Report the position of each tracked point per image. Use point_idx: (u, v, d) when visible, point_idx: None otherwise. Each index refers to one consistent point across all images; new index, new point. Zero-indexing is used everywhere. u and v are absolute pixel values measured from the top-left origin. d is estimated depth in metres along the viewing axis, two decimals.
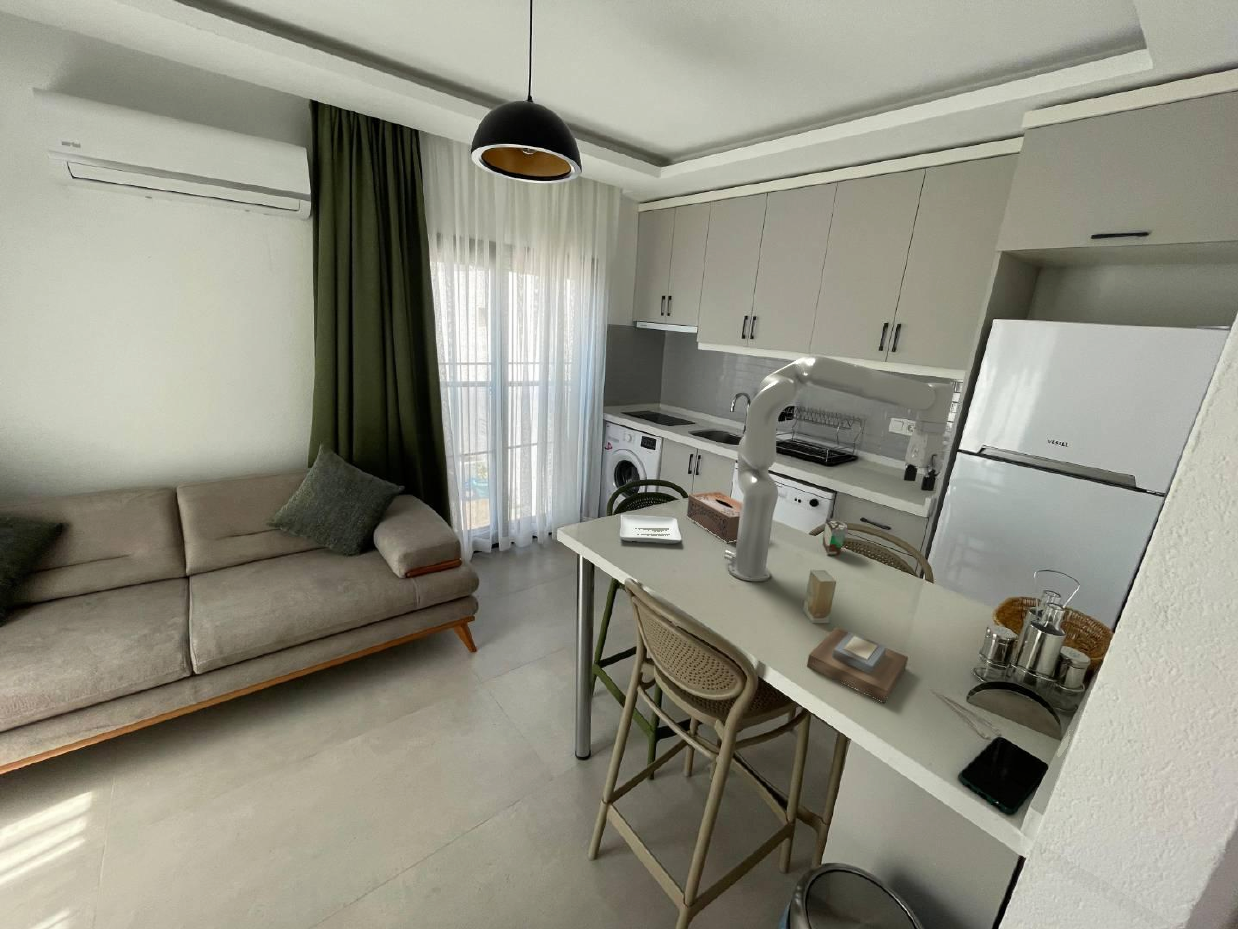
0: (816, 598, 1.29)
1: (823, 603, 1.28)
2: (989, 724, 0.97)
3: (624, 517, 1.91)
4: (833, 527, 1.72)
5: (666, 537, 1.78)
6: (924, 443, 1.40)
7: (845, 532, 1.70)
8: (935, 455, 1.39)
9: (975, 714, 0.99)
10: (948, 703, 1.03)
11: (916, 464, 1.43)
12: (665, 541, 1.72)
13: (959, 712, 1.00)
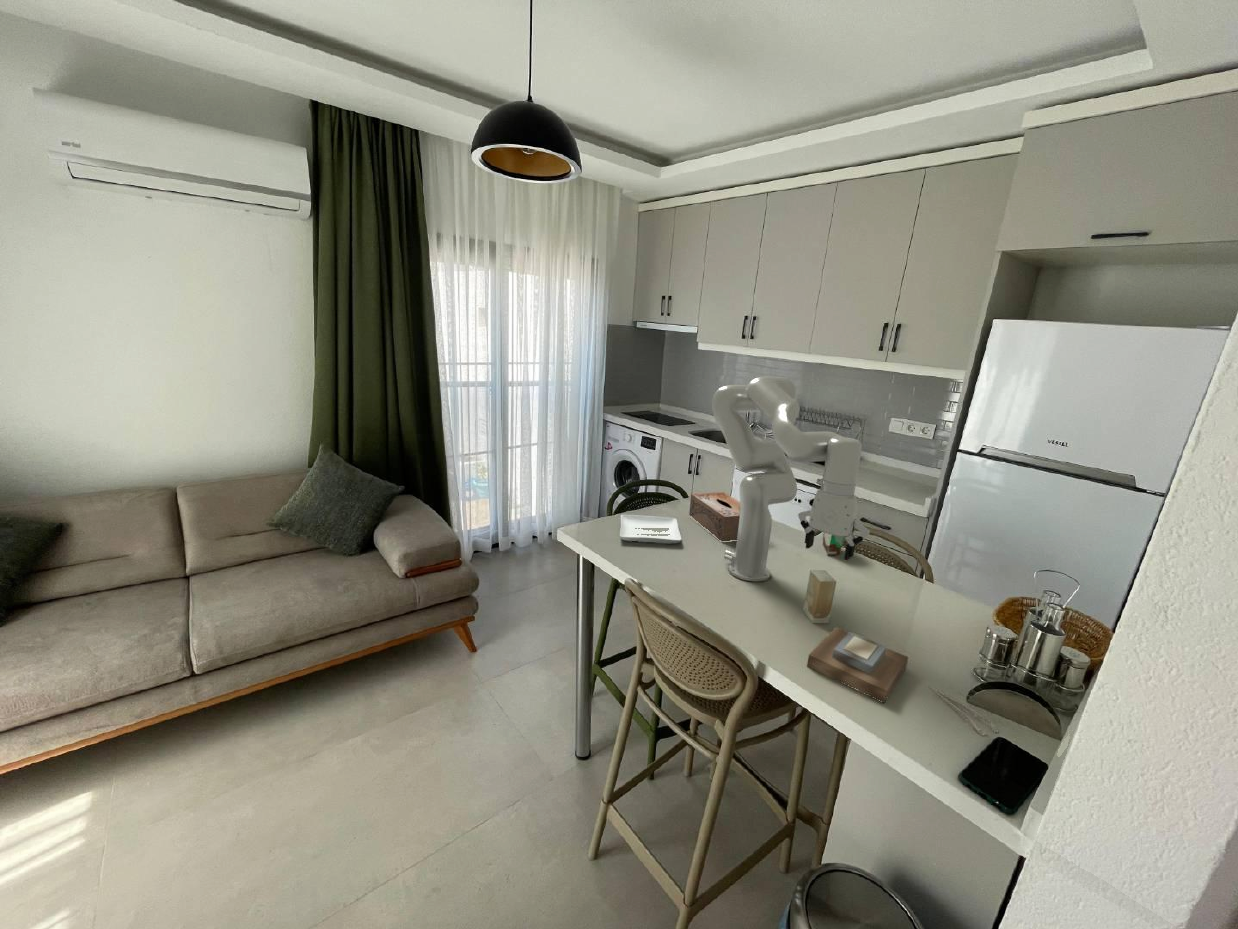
0: (816, 598, 1.29)
1: (823, 603, 1.28)
2: (987, 722, 0.98)
3: (624, 517, 1.91)
4: None
5: (666, 537, 1.78)
6: (846, 509, 1.21)
7: None
8: (855, 520, 1.22)
9: (973, 712, 1.00)
10: (946, 701, 1.03)
11: (836, 533, 1.23)
12: (665, 541, 1.72)
13: (957, 710, 1.01)
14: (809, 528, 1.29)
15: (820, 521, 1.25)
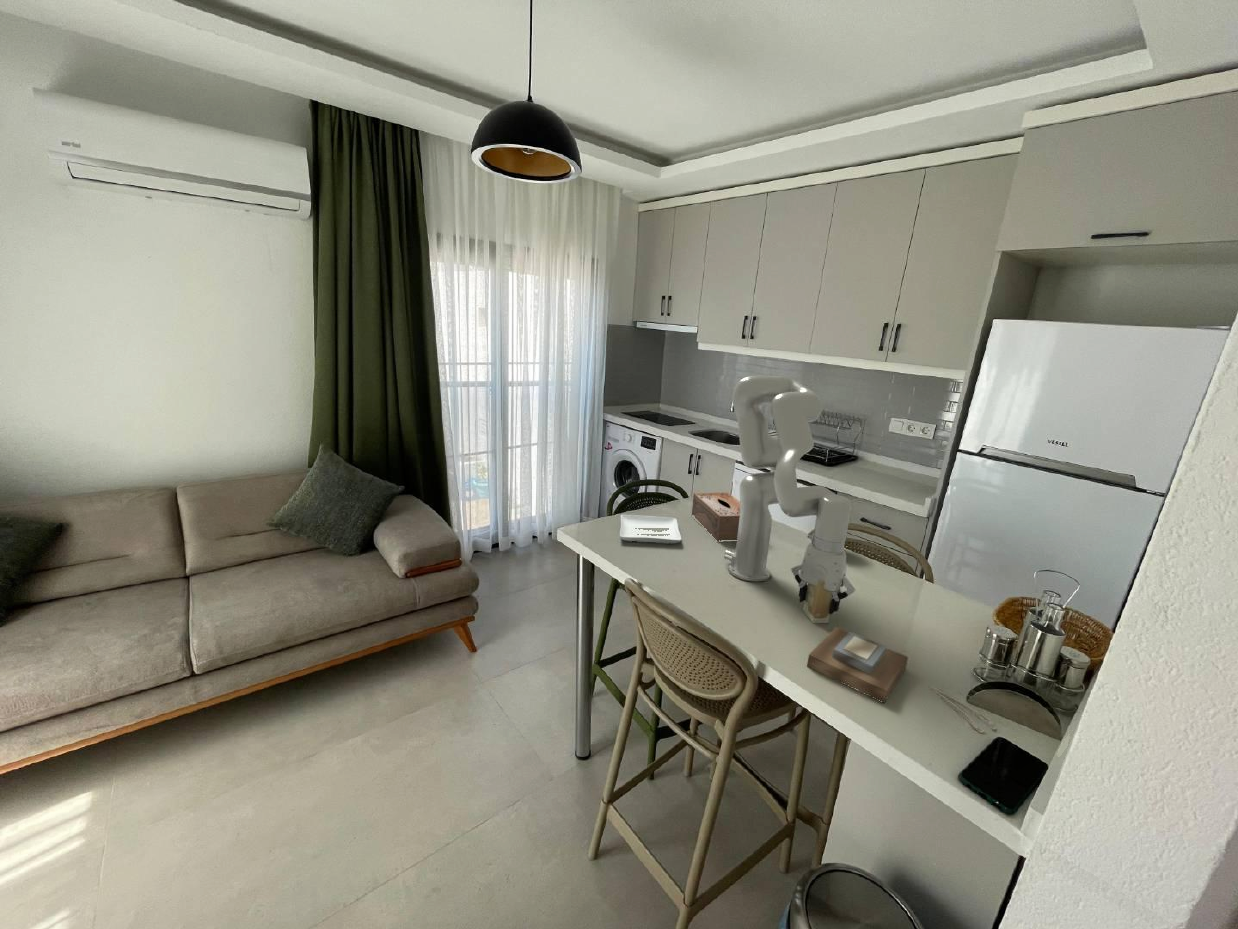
0: (816, 598, 1.29)
1: (823, 603, 1.28)
2: (985, 719, 0.98)
3: (624, 517, 1.91)
4: None
5: (666, 537, 1.78)
6: (835, 566, 1.24)
7: None
8: (843, 576, 1.26)
9: (971, 709, 1.01)
10: (945, 699, 1.04)
11: (826, 587, 1.27)
12: (665, 541, 1.72)
13: (955, 707, 1.01)
14: (802, 582, 1.32)
15: (810, 575, 1.29)
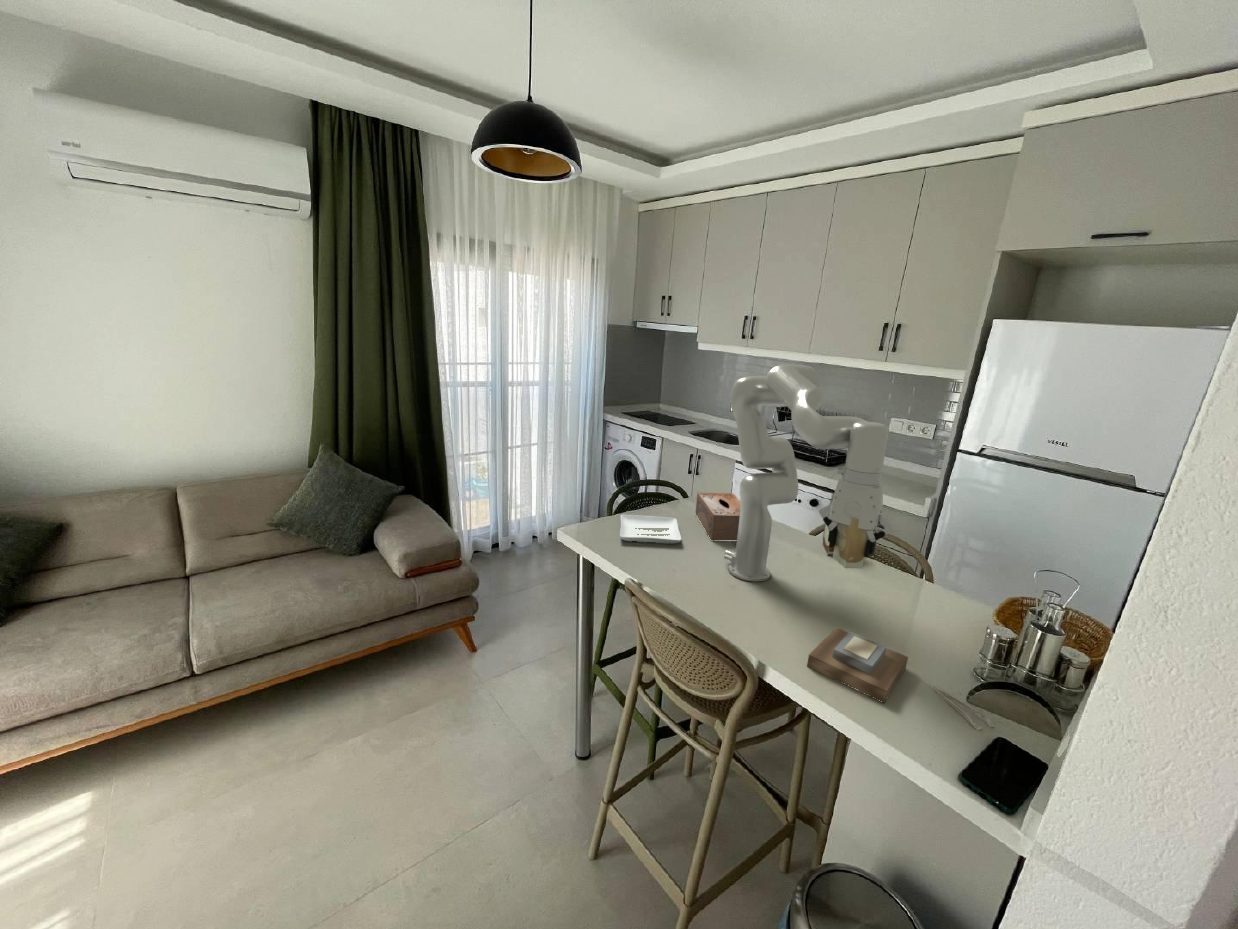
0: (849, 539, 1.14)
1: (857, 545, 1.14)
2: (982, 716, 0.99)
3: (624, 517, 1.91)
4: None
5: (666, 537, 1.78)
6: (871, 500, 1.10)
7: None
8: (880, 513, 1.12)
9: (969, 707, 1.01)
10: (943, 696, 1.05)
11: (860, 526, 1.13)
12: (665, 541, 1.72)
13: (953, 705, 1.02)
14: (832, 524, 1.18)
15: (842, 513, 1.15)
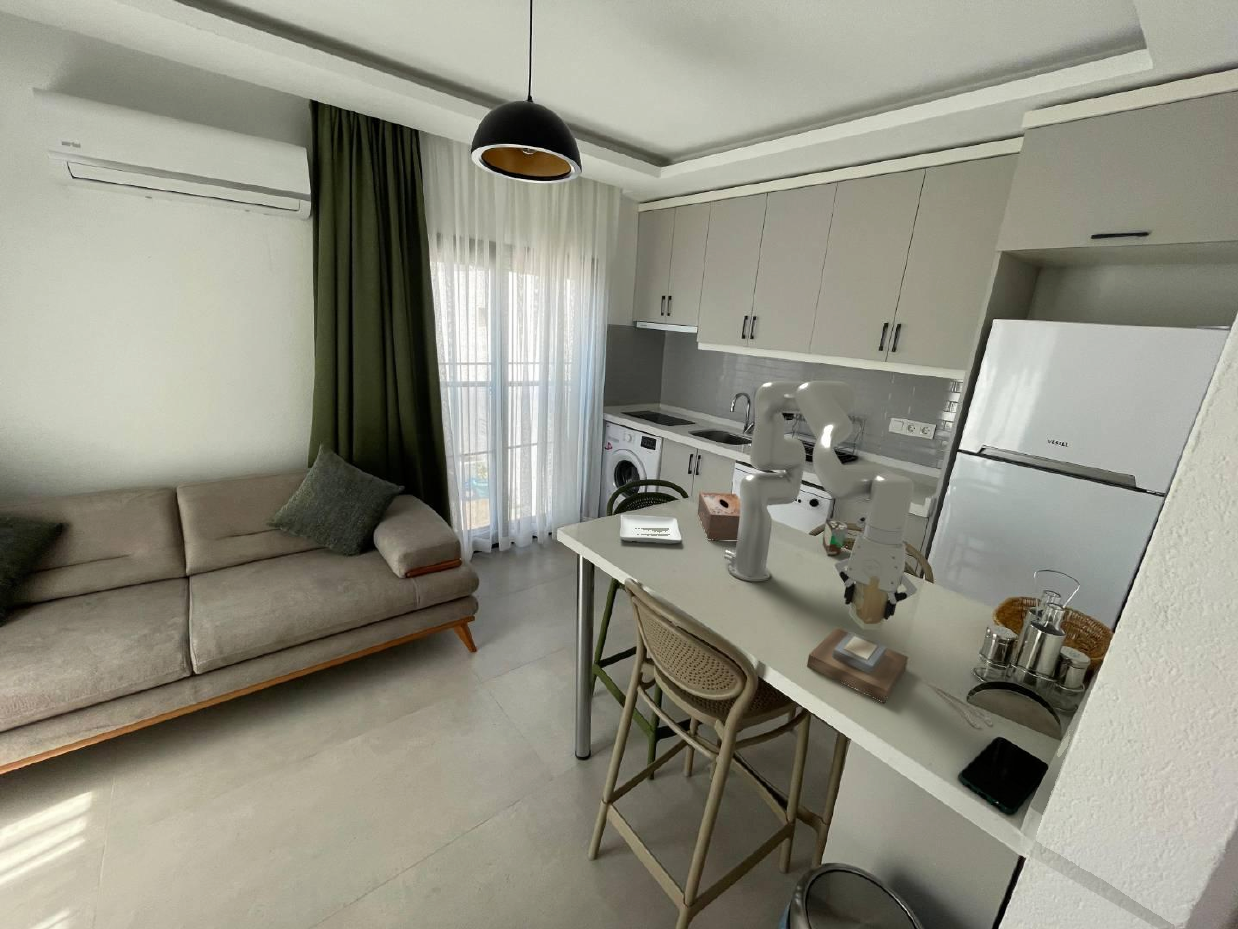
0: (867, 600, 1.06)
1: (876, 606, 1.06)
2: (981, 715, 1.00)
3: (624, 517, 1.91)
4: (833, 527, 1.72)
5: (666, 537, 1.78)
6: (893, 561, 1.02)
7: (845, 532, 1.70)
8: (902, 573, 1.04)
9: (968, 705, 1.02)
10: (942, 695, 1.05)
11: (880, 587, 1.04)
12: (665, 541, 1.72)
13: (952, 703, 1.02)
14: (849, 581, 1.10)
15: (861, 571, 1.06)
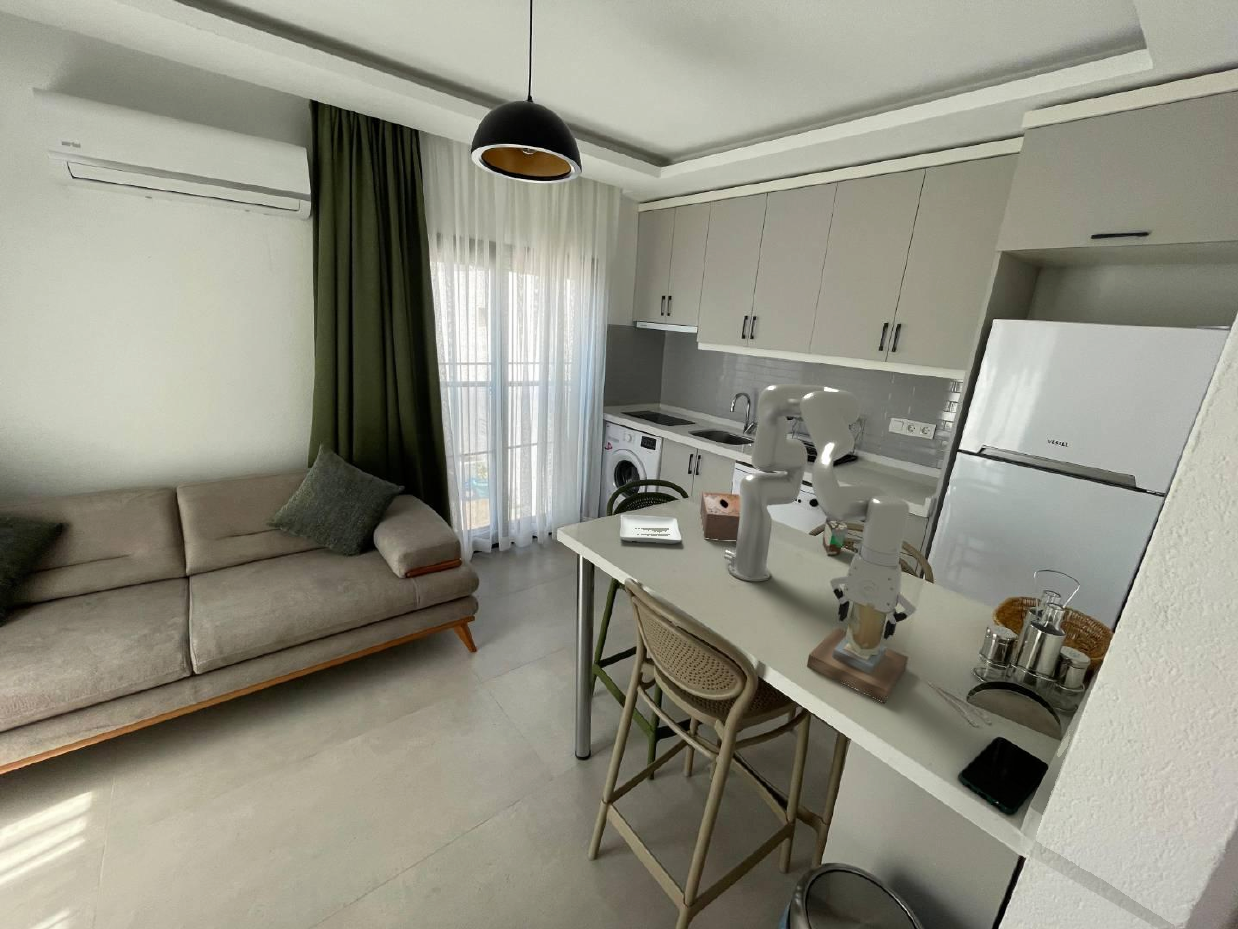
0: (863, 625, 1.07)
1: (872, 631, 1.07)
2: (980, 713, 1.00)
3: (624, 517, 1.91)
4: (833, 527, 1.72)
5: (666, 537, 1.78)
6: (889, 582, 1.03)
7: (845, 532, 1.70)
8: (898, 593, 1.05)
9: (966, 704, 1.02)
10: (941, 693, 1.06)
11: (876, 608, 1.05)
12: (665, 541, 1.72)
13: (951, 701, 1.03)
14: (844, 598, 1.11)
15: (857, 592, 1.08)
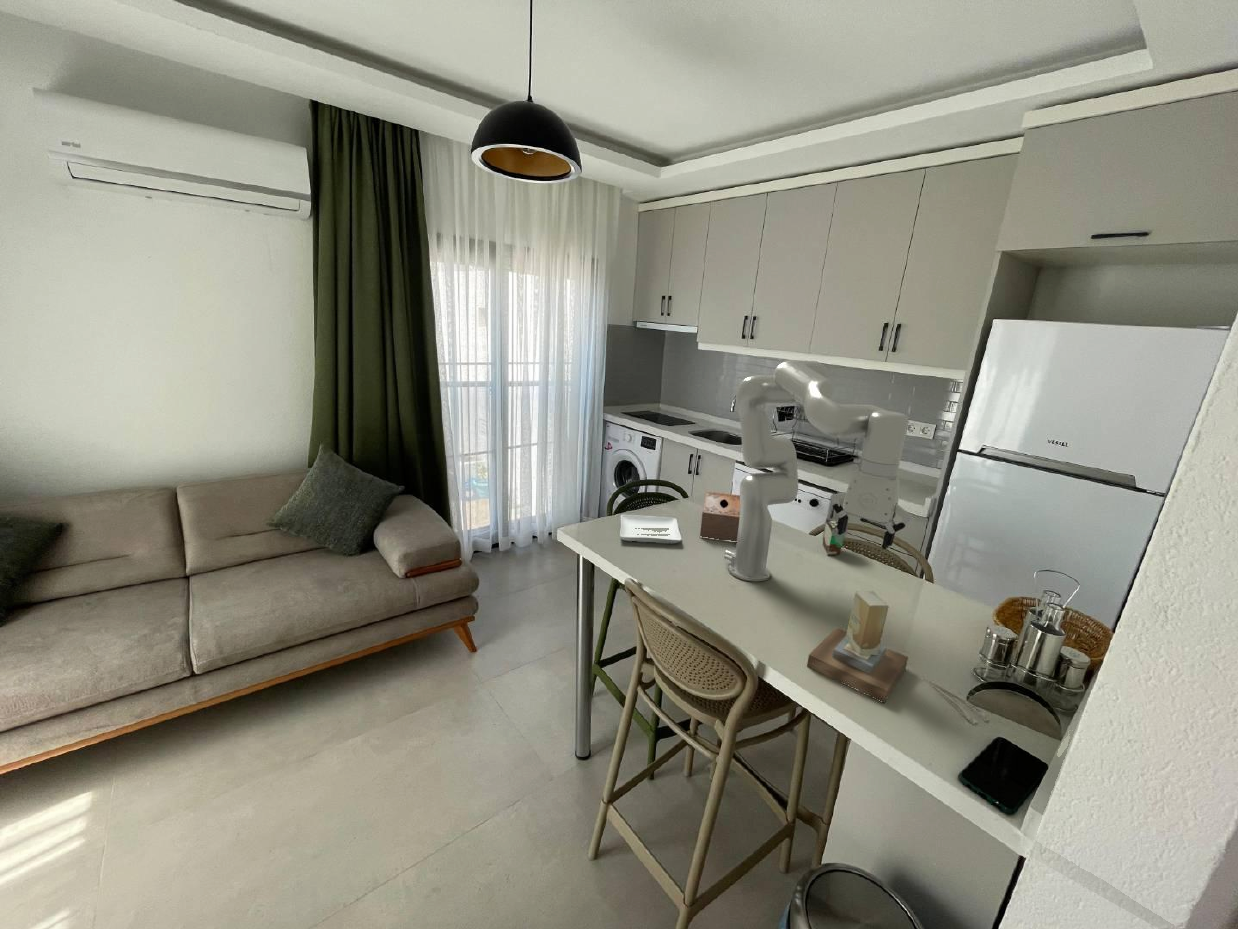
0: (863, 625, 1.07)
1: (872, 631, 1.07)
2: (978, 711, 1.01)
3: (624, 517, 1.91)
4: (833, 527, 1.72)
5: (666, 537, 1.78)
6: (887, 492, 1.07)
7: (845, 532, 1.70)
8: (896, 504, 1.09)
9: (965, 701, 1.03)
10: (939, 691, 1.06)
11: (874, 518, 1.10)
12: (665, 541, 1.72)
13: (949, 699, 1.04)
14: (843, 512, 1.16)
15: (856, 505, 1.12)
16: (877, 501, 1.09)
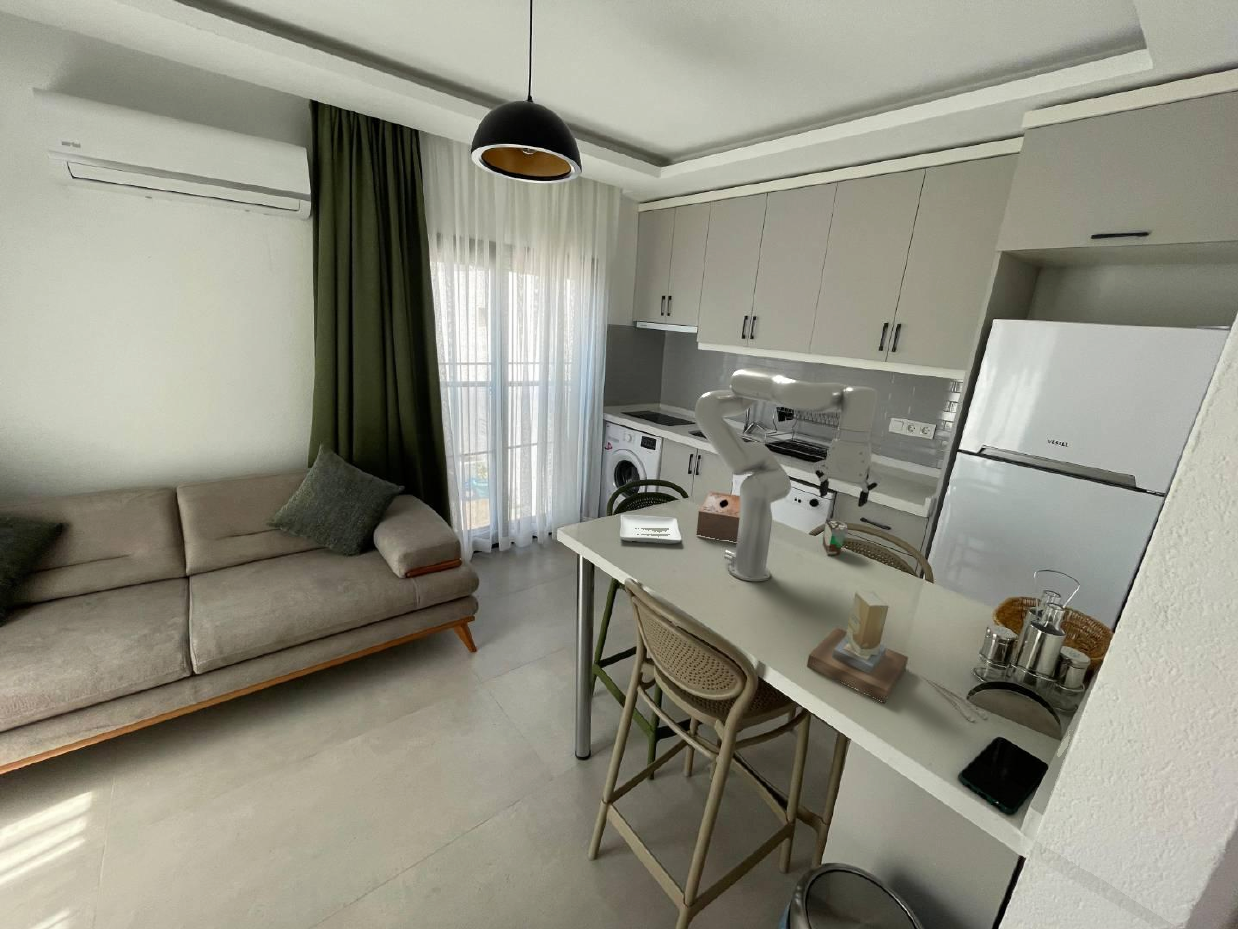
0: (863, 625, 1.07)
1: (872, 631, 1.07)
2: (976, 709, 1.01)
3: (624, 517, 1.91)
4: (833, 527, 1.72)
5: (666, 537, 1.78)
6: (861, 456, 1.24)
7: (845, 532, 1.70)
8: (869, 466, 1.26)
9: (963, 699, 1.03)
10: (937, 689, 1.07)
11: (851, 479, 1.26)
12: (665, 541, 1.72)
13: (947, 697, 1.04)
14: (824, 477, 1.32)
15: (835, 469, 1.29)
16: (852, 464, 1.26)
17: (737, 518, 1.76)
